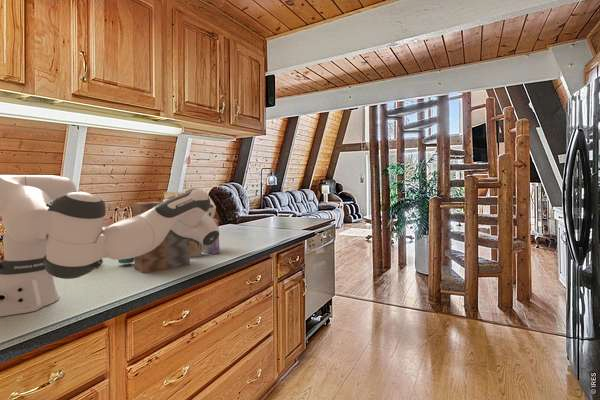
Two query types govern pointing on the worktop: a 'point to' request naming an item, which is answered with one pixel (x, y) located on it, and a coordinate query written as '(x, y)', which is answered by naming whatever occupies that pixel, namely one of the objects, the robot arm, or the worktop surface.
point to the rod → (171, 194)
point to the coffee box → (195, 248)
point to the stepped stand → (161, 248)
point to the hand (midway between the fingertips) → (182, 195)
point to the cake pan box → (214, 246)
